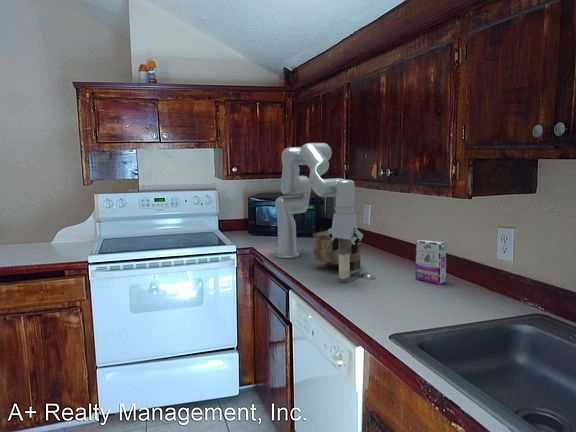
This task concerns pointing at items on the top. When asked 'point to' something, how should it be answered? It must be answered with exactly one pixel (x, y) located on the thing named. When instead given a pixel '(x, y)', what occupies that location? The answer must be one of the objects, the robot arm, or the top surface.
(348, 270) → the wood and grey l-block
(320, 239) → the cabinet
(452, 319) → the top surface
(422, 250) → the candy bar box
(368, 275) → the steel token
